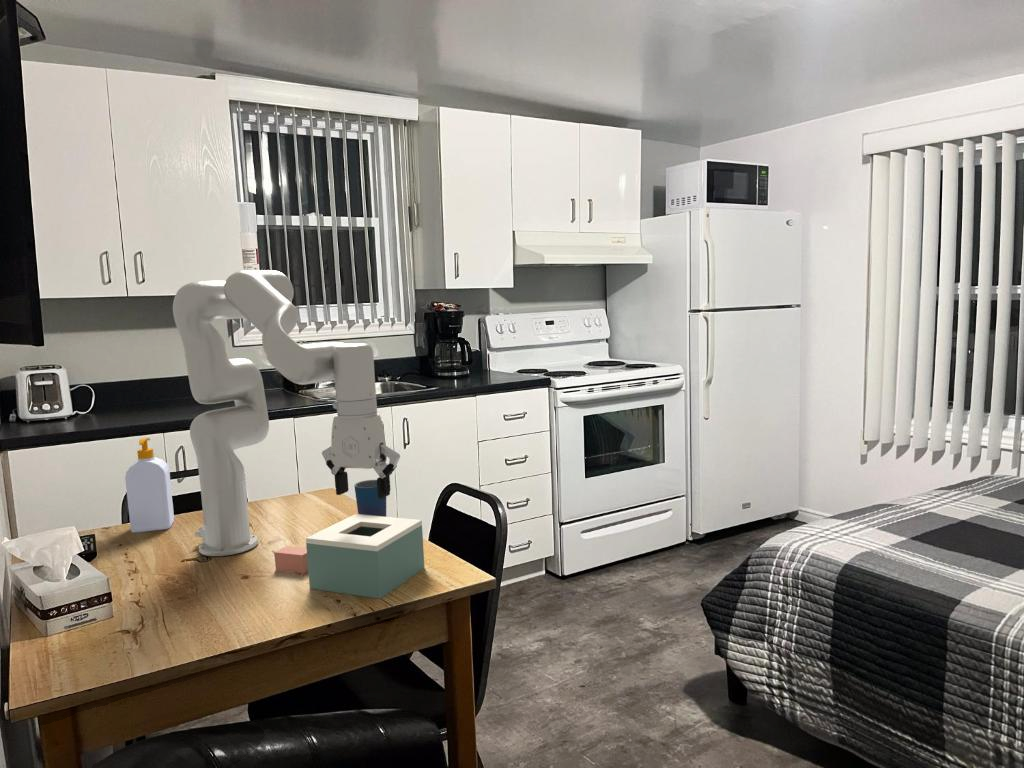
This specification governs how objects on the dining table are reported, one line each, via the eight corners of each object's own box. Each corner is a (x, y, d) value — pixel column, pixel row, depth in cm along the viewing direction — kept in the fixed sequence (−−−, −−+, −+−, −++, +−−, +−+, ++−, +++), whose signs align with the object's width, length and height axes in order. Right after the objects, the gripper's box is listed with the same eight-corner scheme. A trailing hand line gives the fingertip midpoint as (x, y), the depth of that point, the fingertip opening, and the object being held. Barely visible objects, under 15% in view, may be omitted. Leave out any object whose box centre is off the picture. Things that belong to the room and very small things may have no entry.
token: (275, 570, 152) (274, 552, 151) (288, 564, 155) (286, 545, 155) (304, 574, 149) (302, 555, 149) (315, 567, 153) (314, 548, 152)
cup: (383, 556, 157) (379, 487, 155) (353, 555, 158) (349, 487, 156) (395, 545, 163) (390, 479, 162) (366, 544, 165) (361, 479, 163)
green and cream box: (309, 588, 141) (305, 538, 140) (358, 559, 155) (355, 513, 154) (380, 598, 134) (376, 546, 133) (424, 567, 149) (421, 520, 148)
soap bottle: (130, 534, 180) (120, 442, 178) (136, 526, 187) (126, 437, 184) (170, 529, 183) (160, 439, 180) (174, 521, 190) (165, 434, 187)
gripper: (307, 410, 141) (314, 497, 143) (384, 412, 134) (390, 503, 136) (332, 404, 148) (338, 487, 150) (406, 405, 141) (411, 492, 143)
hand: (363, 494), depth 143 cm, fingers open, 9 cm apart
